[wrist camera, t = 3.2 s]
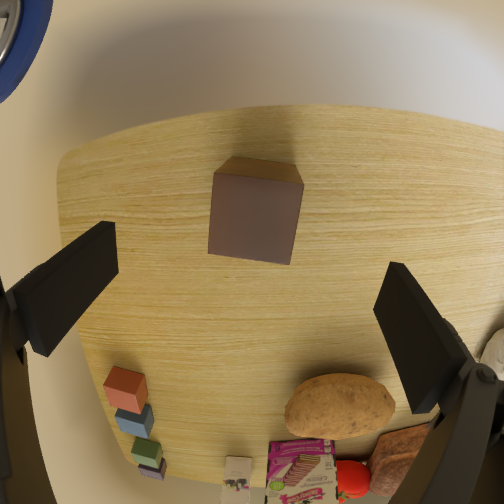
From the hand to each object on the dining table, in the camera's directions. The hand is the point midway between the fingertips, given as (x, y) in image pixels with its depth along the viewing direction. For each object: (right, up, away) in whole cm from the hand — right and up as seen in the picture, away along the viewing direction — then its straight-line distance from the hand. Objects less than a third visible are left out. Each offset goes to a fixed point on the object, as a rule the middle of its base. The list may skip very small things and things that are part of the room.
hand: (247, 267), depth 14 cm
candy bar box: (+9, -32, +30) cm, 45 cm away
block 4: (-21, -45, +38) cm, 63 cm away
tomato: (+17, -41, +34) cm, 56 cm away
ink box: (-2, -41, +35) cm, 54 cm away
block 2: (-19, -25, +29) cm, 43 cm away
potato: (+11, -16, +22) cm, 30 cm away
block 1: (-18, -18, +25) cm, 36 cm away
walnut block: (+1, +6, +13) cm, 14 cm away
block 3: (-20, -38, +35) cm, 55 cm away
